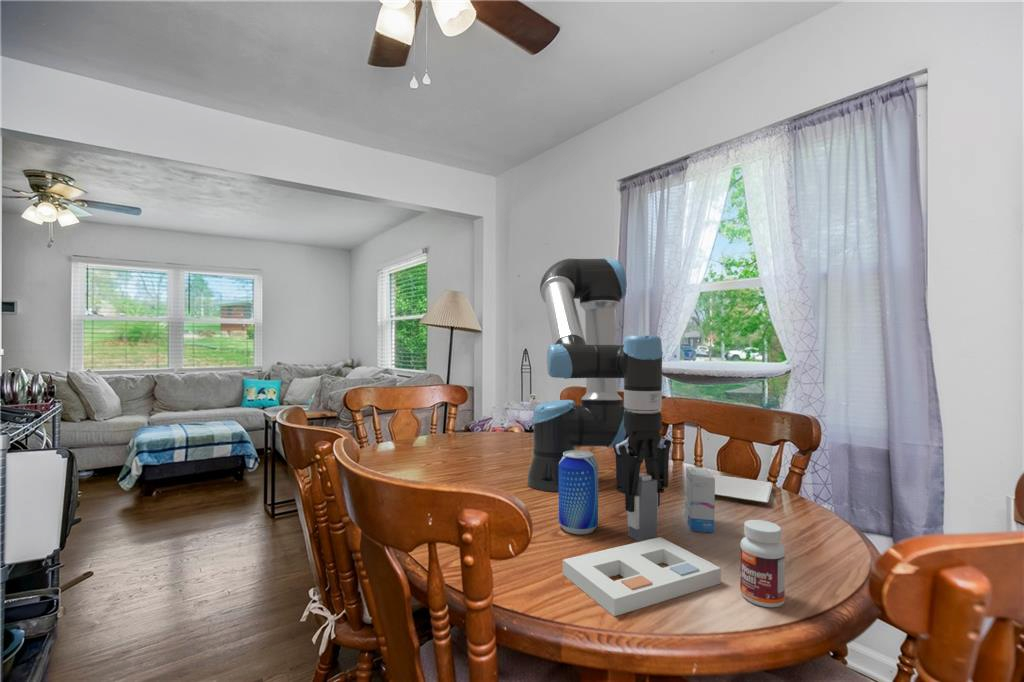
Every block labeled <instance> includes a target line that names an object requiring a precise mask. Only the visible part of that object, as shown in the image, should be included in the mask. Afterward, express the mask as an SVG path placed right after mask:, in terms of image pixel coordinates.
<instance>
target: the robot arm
mask: <svg viewBox="0 0 1024 682" xmlns="http://www.w3.org/2000/svg"><path fill="white" fill-rule="evenodd" d="M626 276H627V275H626V271H625V268H624V266H623V264H622V262H620V261H619V260H617V259H608V258H605V257H603V258H565V259H562V260H560V261H557V262H556V263H554V264H553V265H551V266H550V267H549V268H548V269H547V270H546V271H545V273H544V274H543V276H542V278H541V281H540V285H539V291H540V297H541V299H542V301H543V302H544V303H545V304H546V309H547V310H546V311H547V317H548V321H549V322H548V323H549V329H550V332H551V333H550V334H551V339H552V343H553V344H551V345H549V346H548V347H547V351H546V366H547V367H546V368H547V370H546V371H547V374H548V375H549V377H551V378H557V379H558V378H559V379H565V380H566V379H567V380H568V379H585V382H586V384H585V385H586V387H585V388H586V390H585V391H586V392H585V394H584V395H583V396H582V397H581V400H580V401H581V403H580V404H578V405H577V404H576V402H575V401H574V400H573V399H557V400H551V401H545V402H541V403H539V404H537V405H536V406H535V407H534V409H533V419H532V424H533V457H532V460H531V463H530V466H529V469H528V473H527V475H526V476H527V477H526V478H527V479H526V481H527V482H526V483H527V486H529V487H530V488H533V489H536V490H539V491H543V492H544V491H545V492H559V462H560V460H561V459H562V457H563V453H564V452H566V451H571V450H575V448H577V447H582V448H583V447H587V448H588V447H593V448H595V447H605V448H610V447H612V448H613V451H614V453H615V475H616V476H615V479H616V491H617V492H619V493H621V494H624V495H625V496H624V500H625V501H624V502H625V503H624V505H625V506H624V508H625V511H627V526H628V527H629V526H631V527H633V528H635V529H636V530H637V529H639V496H637V495H636V492H637V485H638V479H639V474H640V473H641V472H640V471H641V465H642V463H643V462H644V464H645V465H644V466H645V472H646V474H648V475H650V476H651V478H652V479H655V480H657V526H658V525H659V507H660V505H661V504H660V503H661V500H660V499H661V494H663V493H664V492H665V488H666V489H667V488H668V486H669V464H670V463H669V462H670V461H669V460H670V450H671V449H670V448H671V446H672V441H671V440H670V439H668V438H664V437H663V438H662V436H661V433H660V432H661V430H662V429H663V414H662V413H661V412H660V411H661V410H662V409H663V406H662V405H663V394H662V393H663V389H662V388H663V387H662V386H663V357H664V355H663V354H664V353H663V346H662V339H661V337H660V336H658V335H651V334H650V335H647V334H646V335H637V334H636V335H634V334H633V335H626V337H624V341H623V344H617V342H616V341H617V339H616V336H617V335H616V309H617V308H618V307H620V304H621V300H623V299H624V298H625V297H626V295H627V288H628V287H627V286H628V285H627V284H628V283H627V277H626ZM575 299H578V300H579V306H580V307H581V308H582V309H583V310H584V315H585V317H584V318H585V319H584V321H585V322H584V324H585V325H584V326H585V328H584V329H585V336H584V332H583V329H582V324H581V321H580V317H579V314H578V310H577V306H576V302H575ZM617 379H623V387H624V388H623V398H622V396H621V395H619V394H618V391H617V390H618V387H617V386H618V385H617V383H618V382H617Z"/></svg>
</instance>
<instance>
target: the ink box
mask: <svg viewBox="0 0 1024 682" xmlns="http://www.w3.org/2000/svg"><path fill="white" fill-rule="evenodd" d="M684 488H685V491H684V492H685V497H684V519H685V521H686V523H687V525H688V527H689V530H690V531H691V532H704V533H714V532H715V502H716V501H715V500H716V499H715V498H716V497H715V478H714V476H713V475H712V473H711V471H710V470H709V468H706V467H695V466H685V487H684Z"/></svg>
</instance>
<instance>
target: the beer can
mask: <svg viewBox="0 0 1024 682" xmlns="http://www.w3.org/2000/svg"><path fill="white" fill-rule="evenodd" d="M558 524H559V525H561V529H562V530H563V531H564V532H565V533H566V532H567V533H569V534H573V535H588V534H591V533H593V532H594V531H595V529H596V528H597V526H598V525H599V464H598V461H597V460H596V458H595V455H594V453H593V452H592V451H588V450H580V449H579V450H578V449H576V450H571V451H566V452H564V453H563V457H562V459H561V460H560V462H559V491H558Z"/></svg>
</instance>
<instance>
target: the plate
mask: <svg viewBox="0 0 1024 682" xmlns="http://www.w3.org/2000/svg"><path fill="white" fill-rule="evenodd" d="M711 474H712V473H711ZM712 475H713V476H714V478H715V498H716V499H723V500H727V501H728V500H729V501H736V502H741V503H747V504H753V505H760V504H762V505H763V504H765V505H767V504H768V503H769V499H770V496H771V492H772V490H773V484H774V483H773V482H771V481H763V480H757V479H750V478H741V477H736V476H735V477H734V476H726V475H719V474H712Z"/></svg>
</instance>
